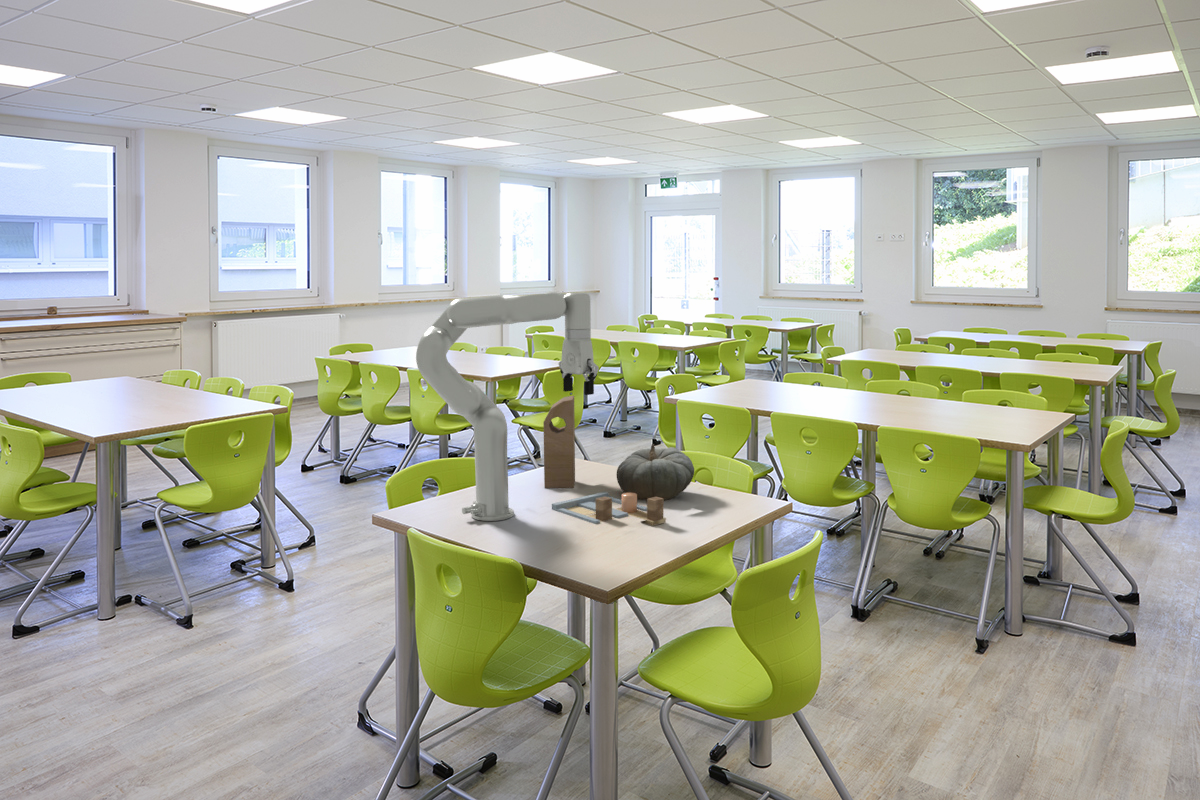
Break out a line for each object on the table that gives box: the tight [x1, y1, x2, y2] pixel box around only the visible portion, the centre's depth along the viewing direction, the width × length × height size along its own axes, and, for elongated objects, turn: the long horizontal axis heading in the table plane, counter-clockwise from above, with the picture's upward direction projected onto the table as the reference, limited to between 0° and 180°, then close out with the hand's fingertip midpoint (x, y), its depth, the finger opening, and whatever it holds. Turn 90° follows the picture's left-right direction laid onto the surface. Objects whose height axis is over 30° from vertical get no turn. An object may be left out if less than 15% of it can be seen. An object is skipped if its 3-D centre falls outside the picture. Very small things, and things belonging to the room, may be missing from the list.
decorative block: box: [542, 395, 576, 489], centre depth 287 cm, size 10×10×30 cm
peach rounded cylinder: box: [621, 492, 638, 513], centre depth 252 cm, size 5×5×5 cm
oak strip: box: [616, 497, 667, 527], centre depth 249 cm, size 5×17×7 cm, turn 41°
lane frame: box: [551, 491, 647, 525], centre depth 254 cm, size 21×20×3 cm
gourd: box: [616, 443, 695, 501], centre depth 272 cm, size 25×25×17 cm
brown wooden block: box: [587, 497, 614, 523], centre depth 245 cm, size 5×7×7 cm
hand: (578, 392), depth 251 cm, fingers open, 9 cm apart
